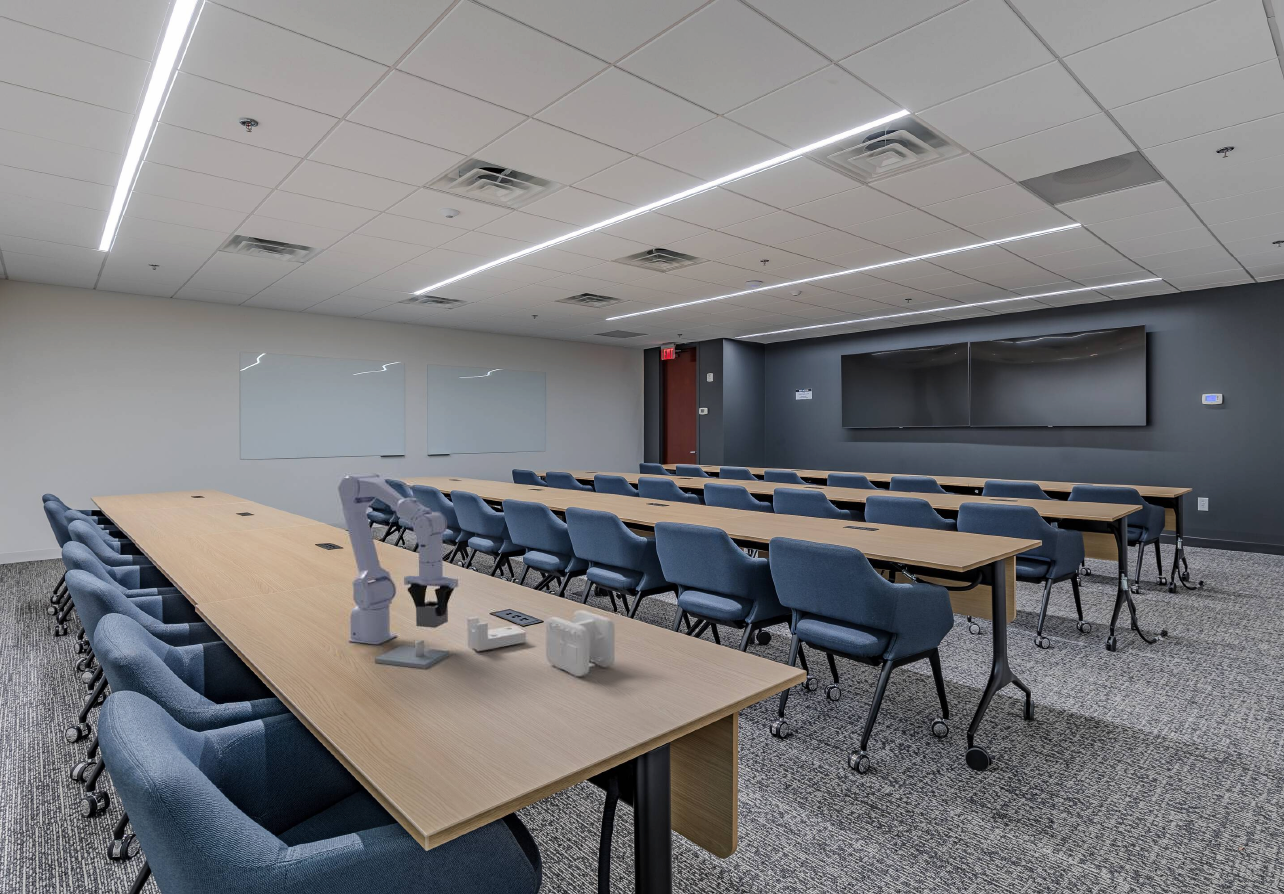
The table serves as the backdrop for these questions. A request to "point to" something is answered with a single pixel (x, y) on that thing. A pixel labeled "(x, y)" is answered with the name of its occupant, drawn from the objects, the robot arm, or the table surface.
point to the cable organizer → (580, 642)
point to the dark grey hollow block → (430, 615)
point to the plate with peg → (412, 656)
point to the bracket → (492, 635)
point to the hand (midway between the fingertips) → (431, 614)
